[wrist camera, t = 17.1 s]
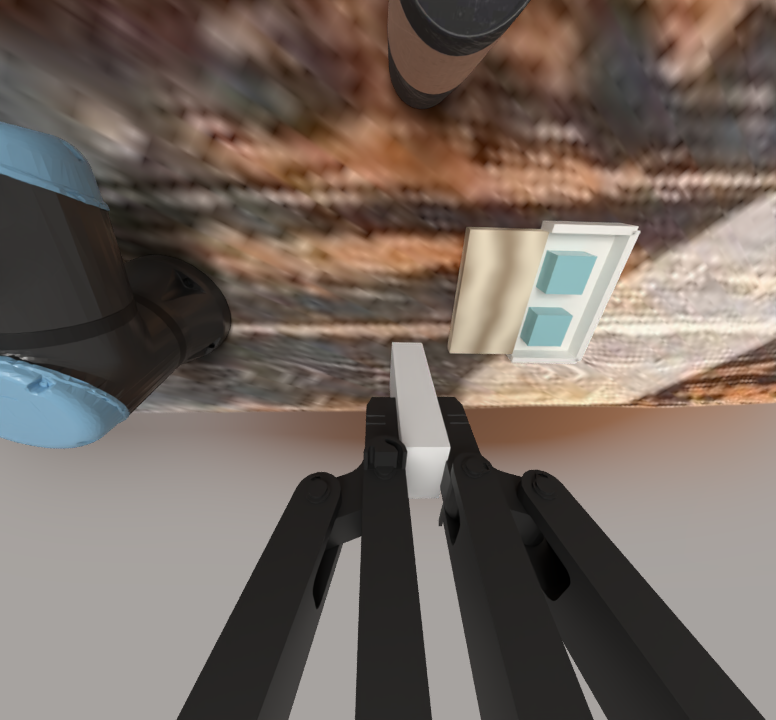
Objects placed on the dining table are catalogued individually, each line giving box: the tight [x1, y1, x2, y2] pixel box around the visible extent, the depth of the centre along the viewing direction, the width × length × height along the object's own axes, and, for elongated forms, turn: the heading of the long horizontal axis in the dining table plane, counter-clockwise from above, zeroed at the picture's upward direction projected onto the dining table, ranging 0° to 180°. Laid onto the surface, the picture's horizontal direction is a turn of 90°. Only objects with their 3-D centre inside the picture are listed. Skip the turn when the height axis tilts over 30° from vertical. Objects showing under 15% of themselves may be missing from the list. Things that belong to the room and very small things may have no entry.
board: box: [447, 227, 549, 354], centre depth 42 cm, size 10×18×2 cm, turn 178°
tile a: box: [536, 250, 597, 295], centre depth 39 cm, size 5×5×3 cm
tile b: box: [520, 307, 573, 347], centre depth 43 cm, size 5×5×3 cm
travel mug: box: [388, 0, 530, 109], centre depth 21 cm, size 8×8×20 cm
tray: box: [506, 221, 640, 364], centre depth 42 cm, size 11×20×3 cm, turn 178°
